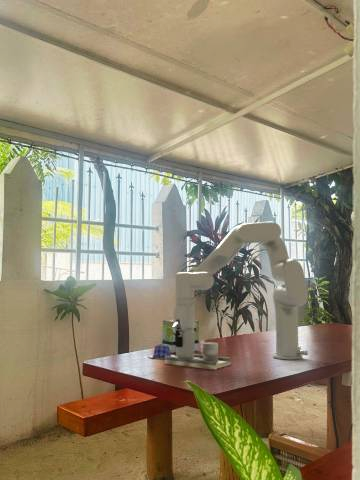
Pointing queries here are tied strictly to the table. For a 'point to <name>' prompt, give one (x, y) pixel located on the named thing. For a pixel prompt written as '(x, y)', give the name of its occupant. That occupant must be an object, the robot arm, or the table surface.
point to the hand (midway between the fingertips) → (185, 345)
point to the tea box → (169, 336)
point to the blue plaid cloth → (161, 352)
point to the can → (186, 345)
